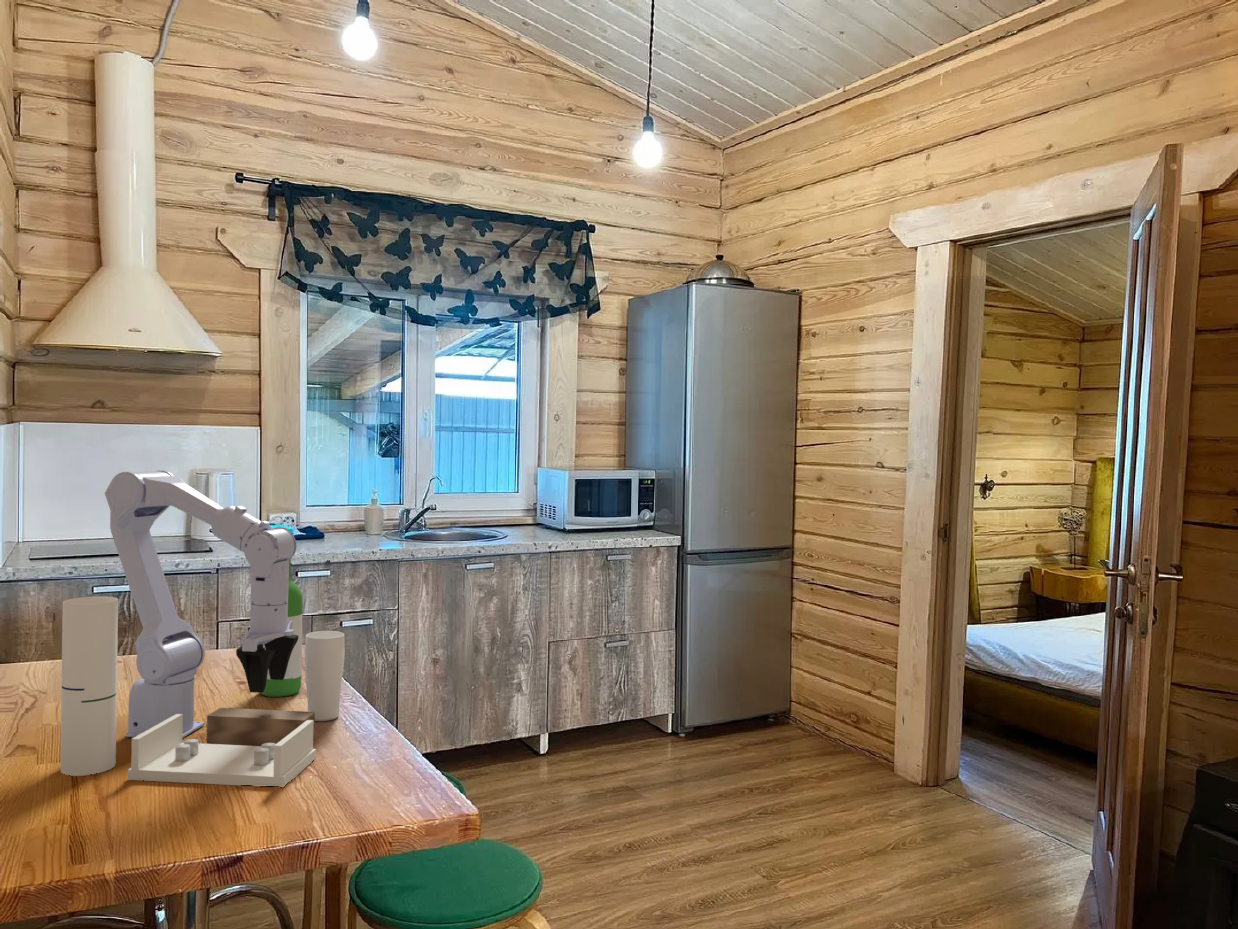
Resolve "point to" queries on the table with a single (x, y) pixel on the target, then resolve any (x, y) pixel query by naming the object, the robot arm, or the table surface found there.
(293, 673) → the wine bottle
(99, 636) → the cylindrical container
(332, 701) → the drinking glass
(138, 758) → the shelf stand
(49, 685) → the table surface
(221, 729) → the brown wooden bar
